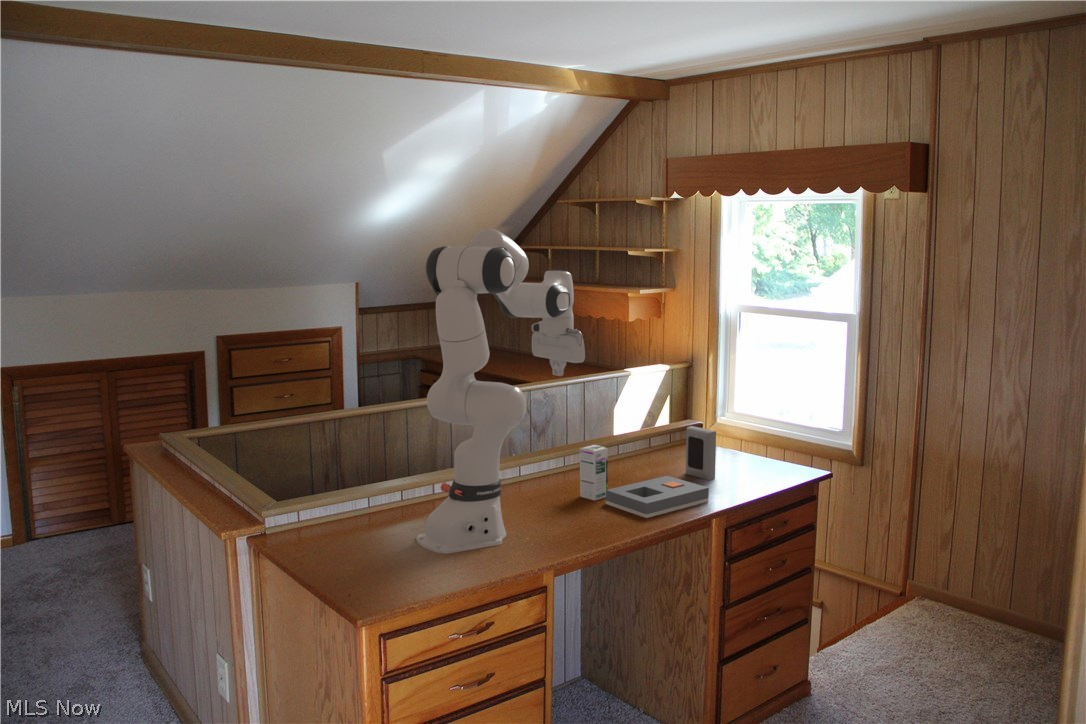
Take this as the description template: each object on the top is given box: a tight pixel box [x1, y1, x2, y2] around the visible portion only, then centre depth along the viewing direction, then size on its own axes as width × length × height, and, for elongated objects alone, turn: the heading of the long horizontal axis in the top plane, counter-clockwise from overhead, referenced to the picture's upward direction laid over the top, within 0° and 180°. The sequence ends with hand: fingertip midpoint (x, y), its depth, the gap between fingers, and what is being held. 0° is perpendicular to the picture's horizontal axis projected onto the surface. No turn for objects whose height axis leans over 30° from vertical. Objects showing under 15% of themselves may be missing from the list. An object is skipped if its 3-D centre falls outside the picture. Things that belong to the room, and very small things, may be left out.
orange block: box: [663, 481, 683, 488], centre depth 257 cm, size 4×4×2 cm
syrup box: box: [579, 444, 609, 501], centre depth 258 cm, size 6×6×14 cm
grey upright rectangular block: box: [685, 425, 717, 481], centre depth 279 cm, size 10×4×15 cm, turn 40°
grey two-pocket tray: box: [605, 475, 710, 519], centre depth 253 cm, size 24×16×4 cm, turn 128°
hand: (558, 375), depth 261 cm, fingers closed
